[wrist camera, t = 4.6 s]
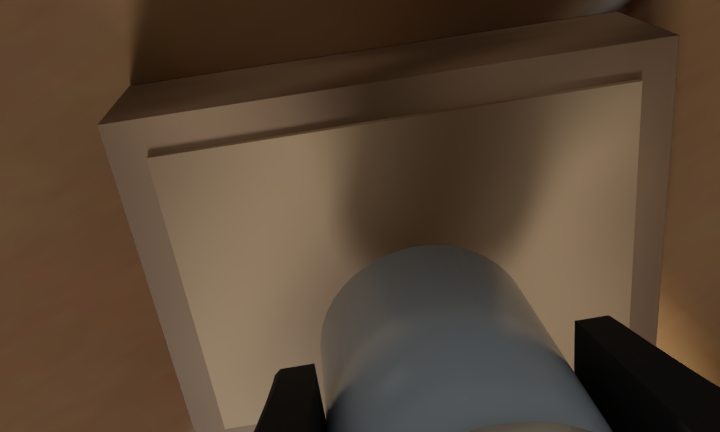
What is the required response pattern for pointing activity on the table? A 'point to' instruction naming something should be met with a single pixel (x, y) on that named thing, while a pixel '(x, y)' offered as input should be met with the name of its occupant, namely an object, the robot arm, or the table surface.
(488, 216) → the box
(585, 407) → the cup
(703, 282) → the table surface
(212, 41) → the table surface
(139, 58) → the table surface
